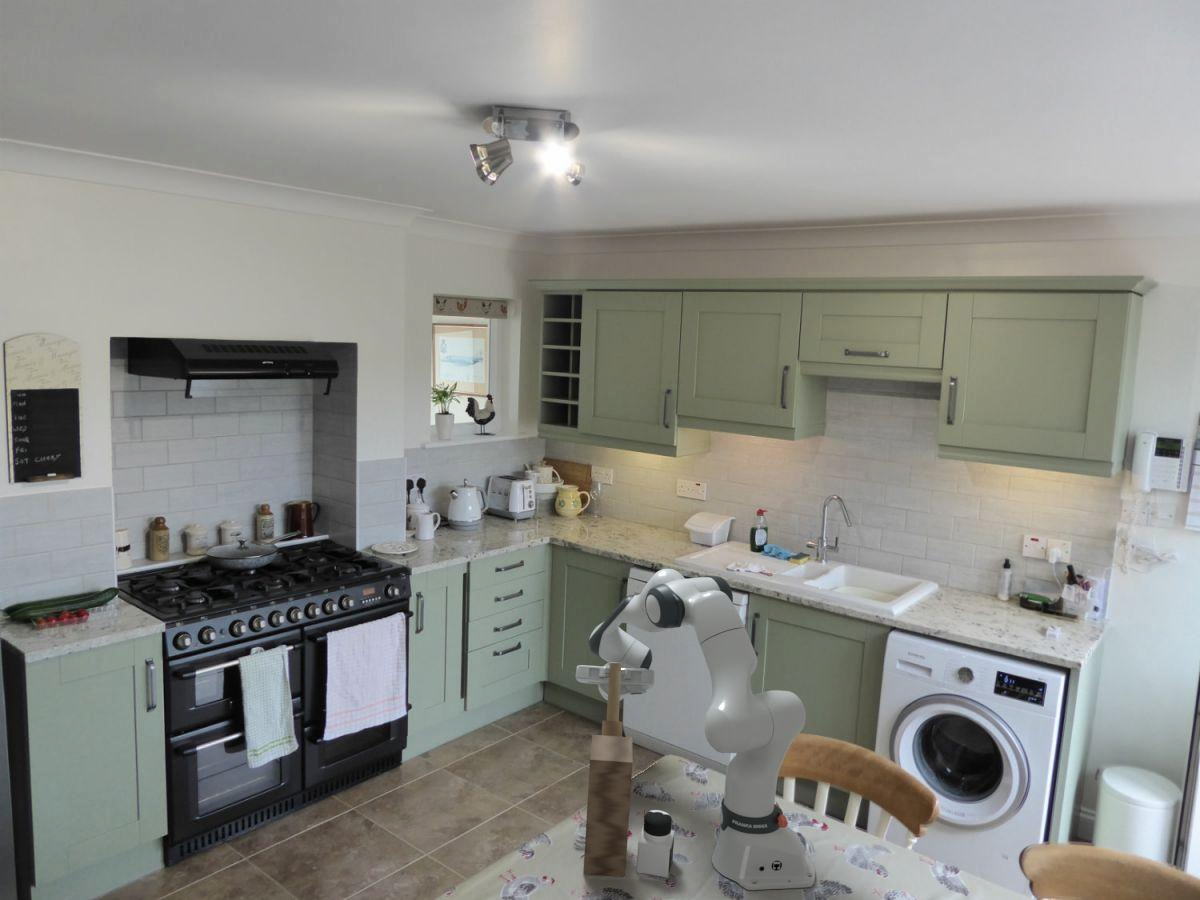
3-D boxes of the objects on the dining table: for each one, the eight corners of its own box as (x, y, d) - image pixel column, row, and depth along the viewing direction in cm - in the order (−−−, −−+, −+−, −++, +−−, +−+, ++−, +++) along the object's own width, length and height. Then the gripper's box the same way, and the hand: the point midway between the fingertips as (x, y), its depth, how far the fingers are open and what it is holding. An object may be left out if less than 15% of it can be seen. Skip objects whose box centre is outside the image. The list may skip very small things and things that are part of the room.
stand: (625, 846, 198) (632, 737, 195) (625, 877, 186) (632, 762, 183) (585, 843, 199) (592, 734, 196) (583, 874, 187) (590, 759, 184)
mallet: (625, 664, 222) (625, 663, 218) (621, 747, 215) (621, 747, 211) (605, 663, 222) (605, 662, 218) (600, 746, 215) (600, 746, 211)
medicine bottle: (668, 878, 187) (672, 826, 186) (636, 872, 188) (639, 820, 187) (672, 860, 194) (676, 809, 193) (641, 854, 195) (644, 804, 194)
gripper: (576, 665, 232) (575, 655, 219) (652, 670, 231) (656, 661, 219) (574, 689, 229) (573, 681, 217) (651, 694, 229) (655, 686, 216)
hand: (615, 671), depth 218 cm, fingers closed on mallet, 3 cm apart
